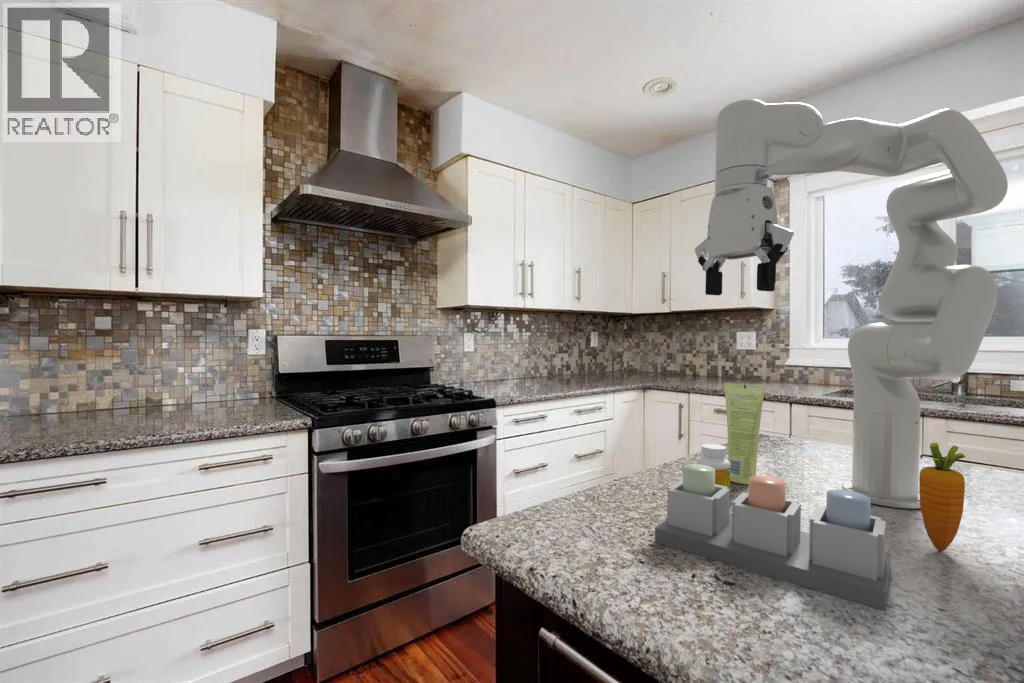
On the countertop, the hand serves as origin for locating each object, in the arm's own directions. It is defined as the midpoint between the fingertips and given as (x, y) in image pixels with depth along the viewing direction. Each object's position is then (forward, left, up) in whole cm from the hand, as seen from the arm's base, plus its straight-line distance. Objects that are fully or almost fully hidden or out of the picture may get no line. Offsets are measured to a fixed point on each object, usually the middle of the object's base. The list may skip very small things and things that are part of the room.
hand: (738, 293), depth 77 cm
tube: (-21, -4, -36) cm, 42 cm away
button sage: (+11, -2, -31) cm, 33 cm away
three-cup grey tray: (+11, +7, -36) cm, 38 cm away
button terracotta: (+11, +7, -31) cm, 34 cm away
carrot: (-6, +25, -36) cm, 44 cm away
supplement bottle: (-6, -5, -36) cm, 37 cm away
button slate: (+11, +16, -31) cm, 37 cm away
